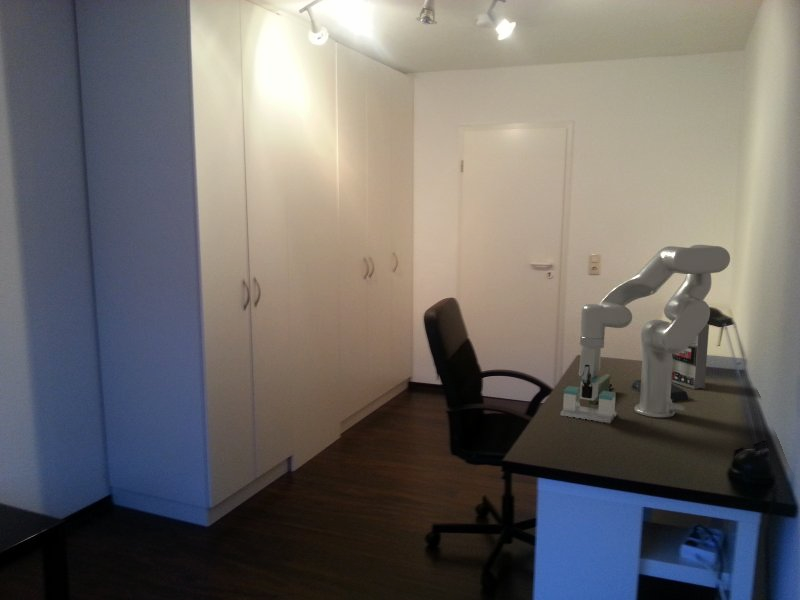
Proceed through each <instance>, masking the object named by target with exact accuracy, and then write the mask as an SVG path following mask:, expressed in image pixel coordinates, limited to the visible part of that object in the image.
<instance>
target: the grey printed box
mask: <svg viewBox="0 0 800 600" xmlns="http://www.w3.org/2000/svg"><path fill="white" fill-rule="evenodd" d="M670 321H671V320H670ZM672 322H673V321H671V322H670V323H672ZM709 329H710V324H708V323H707V324H706V325H705V327H704V328H703V329H702V330H701V332H700V333H699V334H698V336H697V337H696V338H695V339H694V341H693V342H692V343H691V344H690V345H689V347H688V348H687V349H686V350H684V351H683V352H681V353H679V354H672V358H673V368H672V381H671V383H672V384H676V385H681V386H684V387H687V388H690V389H692V390H696V389H704V388H706V374H707V373H706V371H707V359H708V348H709V347H708V346H709V345H708V344H709V335H710V334H709V332H710V330H709Z"/></svg>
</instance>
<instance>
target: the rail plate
mask: <svg viewBox="0 0 800 600" xmlns="http://www.w3.org/2000/svg"><path fill="white" fill-rule="evenodd" d="M616 395H617V393H616V392H615V391H610V390H609V391H602V392H601V393H600V395H599V400H598V408H594V407H587V406H582V405H581V404H580V403H581V399H580V387H579V386H574V385H568V386H567V387H566V388H565V389H563V402H562V403H563V405H562V410H561V411H560V416H561V417H567V416H568V418H573V417H575V418H574V419H579V418H581V419H580V420H585V419H587V420H586V421H591V420H593V421H592V422H597V421H598V422H599V423H604V422H605V424H611V423H612V421H613V420H614V419H615V418H614V417H616V416H617V411H616V410H615V408H616V407H615V406H616Z"/></svg>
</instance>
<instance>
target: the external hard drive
mask: <svg viewBox="0 0 800 600" xmlns="http://www.w3.org/2000/svg"><path fill="white" fill-rule="evenodd" d="M631 388H632V389H631ZM630 389H631V390H633V389H634V390H633V391H635V390H636V391H638V392H641V379H639V380H633V382H632V383H631V386H630ZM636 391H635V392H636ZM638 392H637V393H638ZM670 399H672V401H674V402H686V400H687V401H690V396H689V394H688V392H687V390H685V389H683V388H682V387H680V386H678V385H677V384H675V383H671V396H670Z"/></svg>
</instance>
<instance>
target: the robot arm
mask: <svg viewBox="0 0 800 600" xmlns="http://www.w3.org/2000/svg"><path fill="white" fill-rule="evenodd" d="M730 262H731V255H730V252H729V251H728V250H727V249H726V248H725V247H722V246H719V245H709V244H708V245H707V244H694V245H691V246H689V247H685V246H684V247H683V246H682V247H681V246H672V245H671V246H669V245H668V246H665V247H663V248H661V249H659V250H658V252H656V253H655V255H654V256H653V257H652V258H651V259H650V260H648V262H647V263H646V264H645V265H644V266H643V267H642V268H640V270H639V271H638V272H637V273H636V274H635V275H634V276H633V277H631V278H629V279H627V280H626V281H624V282H623V283H620V284H619V285H618V286H616V287H614V288H613V289H612V290H611V291H609V292H608V294H607V295H606V296H605V297H603V299H602V300H601V301H600V302H599V303H598V304H594V303H593V304H592V303H590V304H587V303H586V304H584V305H582V308H581V321H580V322H581V323H580V341H579V346H580V347H581V350H580V356H579V357H580V358H579V369H578V376H579V377H580V378H581V377H582V376H583V383H582V397H583V398H590V399H591V398H592V378H594V377H595V376H596V375H598V374H599V373H600V370H601V352H602V351H601V349H604V348H605V347H604V346H605V332H606V331H605V330H606V328H614V329H624V328H626V327H628V326H629V325H630V324H631V323H632V321H633V314H632V311H631V310H630V309H629V308H628V307H626V306H627V305H629V304H631V302H634V301H636V300H639V299H643V298H646V297H649V296H651V295H654V294H656V293H657V292H659V290H660V289H661V288H662V287H663V286H664V285H665V284H666V283H667V282H668V280H669V279H671V277H672V276H674V275H675V274H680V275H685V278H684V279H683V281H682V283H681V284H680V285H679V287H678V288H677V290H676V291H675V292H674V293H673V294H672V296H671V297H670V299H668V301H667V302H666V304H665V306H664V309H663V313H664V317H665V318H667V319H668V320H669V321H673V322H672V323H671V322H669V321H667V320H662V319H651V320H649V321H647V322H646V323H645V324H644V325H643V326H642V328H641V331H640V338H641V340H640V341H641V347H642V361H641V362H642V363H641V376H640V380H641V392H640V393H639V394H640V395H639V404H636V405H635V406H634V411H635V412H636V413H637V414H640V415H642V416H646V417H651V418H670V417H673V416H674V415H675V412H681V413H684V411H685V406H684V405H682V404H680V403H679V404H676V403H674V402H672V399H670V396H671V384H672V382H671V381H672V368H673V358H672V354H679V353H681V352H683V351H684V350H686V349H687V348H688V347H689V345H690V344H691V343H692V342H693V341H694V339H695V338H696V337H697V336H698V334H699V333H700V332H701V330H702V329H703V328H704V327H705V325H706V324H708V321H709V320H710V315H711V309H710V306H709V304H708V303H707V302H706V301H705V298H706V297H707V295H708V294H709V293H710V292H711V291H710V290H711V288H712V274H715V273H716V274H717V273H721V272H723V271H725V270H726V269H727V268H728V266H729V265H730ZM588 375H591V377H588ZM588 379H590V382H589V380H588Z"/></svg>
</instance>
